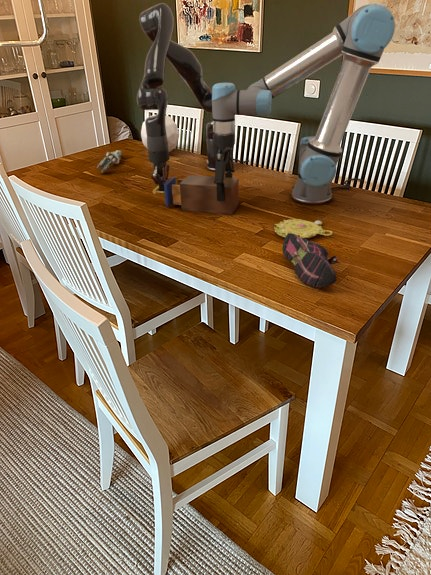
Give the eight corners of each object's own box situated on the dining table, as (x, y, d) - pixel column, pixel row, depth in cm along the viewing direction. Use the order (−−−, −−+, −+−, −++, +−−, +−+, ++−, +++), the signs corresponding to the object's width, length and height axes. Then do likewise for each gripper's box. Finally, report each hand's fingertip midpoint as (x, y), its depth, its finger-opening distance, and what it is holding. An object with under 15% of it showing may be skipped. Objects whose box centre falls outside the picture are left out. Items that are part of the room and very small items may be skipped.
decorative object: (286, 211, 157) (342, 219, 147) (286, 217, 158) (341, 226, 148) (260, 233, 142) (319, 243, 133) (260, 240, 144) (319, 251, 134)
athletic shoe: (323, 277, 110) (361, 269, 114) (285, 218, 122) (321, 213, 126) (307, 304, 119) (343, 296, 123) (273, 246, 130) (307, 241, 135)
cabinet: (181, 210, 165) (179, 183, 160) (190, 200, 173) (188, 174, 168) (231, 215, 160) (231, 187, 155) (238, 204, 168) (238, 178, 163)
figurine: (101, 154, 197) (119, 141, 223) (91, 167, 200) (110, 152, 227) (114, 165, 199) (130, 151, 225) (103, 178, 203) (121, 162, 229)
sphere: (153, 165, 235) (133, 132, 232) (185, 147, 237) (165, 113, 235) (153, 156, 216) (131, 120, 214) (188, 137, 218) (167, 100, 216)
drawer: (152, 204, 168) (150, 183, 164) (161, 196, 175) (159, 175, 171) (211, 209, 162) (210, 188, 158) (218, 200, 169) (217, 179, 165)
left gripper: (155, 142, 166) (160, 186, 176) (141, 152, 156) (147, 199, 165) (174, 143, 164) (178, 187, 174) (160, 153, 154) (165, 200, 163)
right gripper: (222, 125, 161) (223, 184, 173) (203, 141, 142) (205, 205, 154) (242, 125, 159) (242, 185, 171) (225, 142, 140) (226, 207, 152)
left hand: (162, 193), depth 169 cm, fingers closed
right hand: (224, 195), depth 162 cm, fingers closed on cabinet, 10 cm apart
